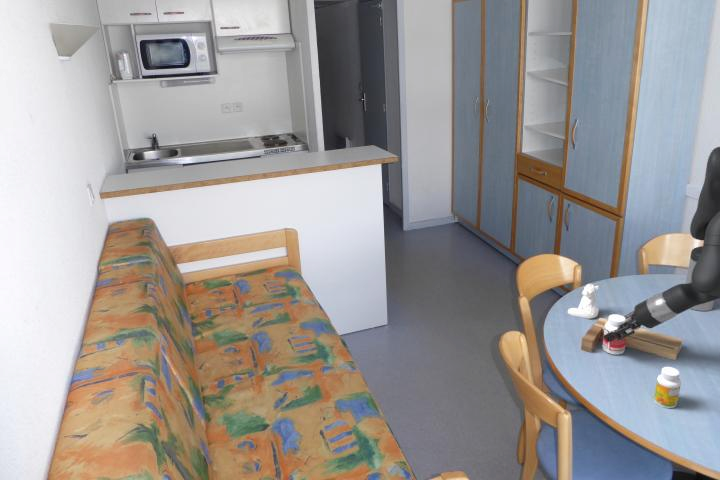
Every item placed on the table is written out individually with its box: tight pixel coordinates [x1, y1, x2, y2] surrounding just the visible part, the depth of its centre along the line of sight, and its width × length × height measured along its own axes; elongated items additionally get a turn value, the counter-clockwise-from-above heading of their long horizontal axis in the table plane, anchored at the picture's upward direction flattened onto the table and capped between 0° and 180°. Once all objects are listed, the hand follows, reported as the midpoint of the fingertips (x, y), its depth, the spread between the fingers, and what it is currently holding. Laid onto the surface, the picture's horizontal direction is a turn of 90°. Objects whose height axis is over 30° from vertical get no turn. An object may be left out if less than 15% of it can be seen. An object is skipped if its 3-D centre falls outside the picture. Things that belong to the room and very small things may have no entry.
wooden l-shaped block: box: [580, 317, 683, 361], centre depth 167 cm, size 18×24×4 cm
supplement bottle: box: [653, 366, 682, 409], centre depth 143 cm, size 5×5×10 cm
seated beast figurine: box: [567, 283, 600, 320], centre depth 186 cm, size 10×9×12 cm
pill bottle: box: [602, 313, 626, 356], centre depth 166 cm, size 6×6×11 cm
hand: (609, 334), depth 167 cm, fingers closed on pill bottle, 6 cm apart
